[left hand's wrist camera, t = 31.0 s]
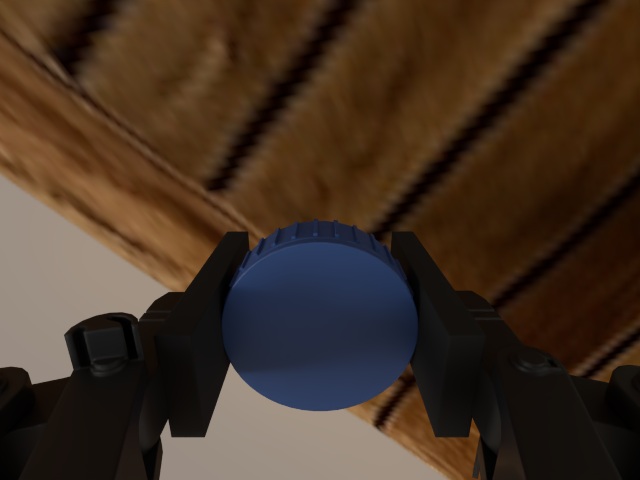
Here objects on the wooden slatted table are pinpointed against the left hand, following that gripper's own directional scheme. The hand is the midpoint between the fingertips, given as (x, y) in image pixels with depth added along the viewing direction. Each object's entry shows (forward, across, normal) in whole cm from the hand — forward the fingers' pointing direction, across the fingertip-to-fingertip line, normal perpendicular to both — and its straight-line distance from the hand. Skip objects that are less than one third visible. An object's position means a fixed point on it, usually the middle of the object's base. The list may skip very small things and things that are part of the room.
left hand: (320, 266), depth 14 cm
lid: (-4, 0, 0) cm, 4 cm away
